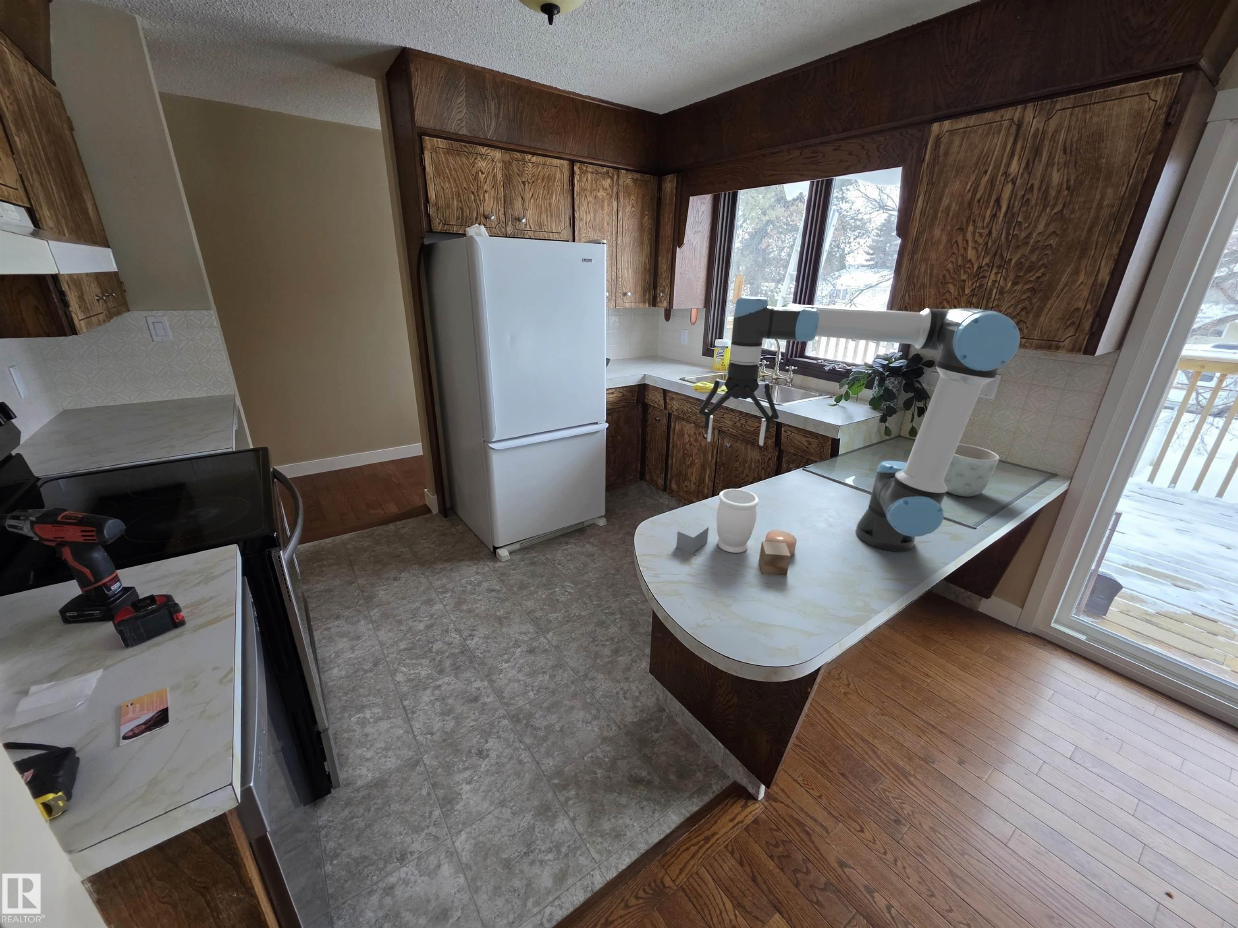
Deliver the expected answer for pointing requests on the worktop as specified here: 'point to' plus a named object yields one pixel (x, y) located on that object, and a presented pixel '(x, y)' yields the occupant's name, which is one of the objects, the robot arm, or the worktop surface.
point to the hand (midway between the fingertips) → (734, 442)
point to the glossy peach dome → (782, 539)
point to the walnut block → (774, 558)
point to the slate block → (692, 536)
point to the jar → (735, 519)
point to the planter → (970, 470)
